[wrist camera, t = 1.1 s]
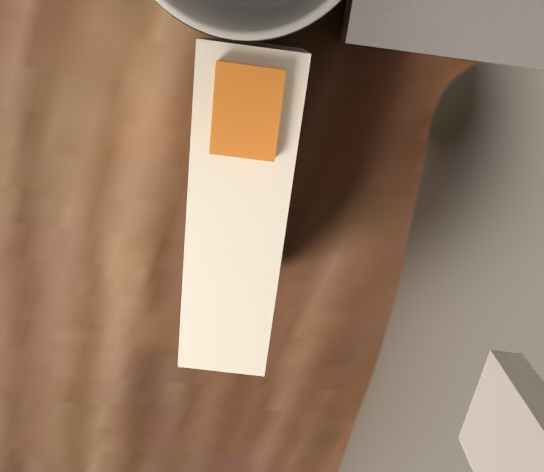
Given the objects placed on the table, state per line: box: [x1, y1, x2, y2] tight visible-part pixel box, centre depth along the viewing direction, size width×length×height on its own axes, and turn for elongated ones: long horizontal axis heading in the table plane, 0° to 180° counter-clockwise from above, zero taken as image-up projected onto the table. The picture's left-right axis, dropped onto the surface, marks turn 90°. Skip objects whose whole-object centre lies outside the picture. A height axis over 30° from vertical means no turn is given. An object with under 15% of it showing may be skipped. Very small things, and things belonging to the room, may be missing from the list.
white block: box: [178, 38, 311, 376], centre depth 23 cm, size 4×14×10 cm, turn 173°
